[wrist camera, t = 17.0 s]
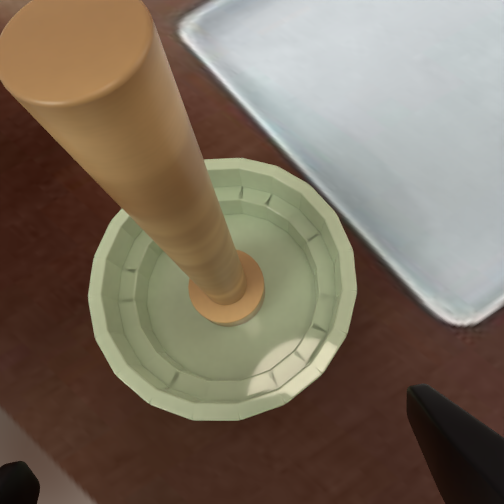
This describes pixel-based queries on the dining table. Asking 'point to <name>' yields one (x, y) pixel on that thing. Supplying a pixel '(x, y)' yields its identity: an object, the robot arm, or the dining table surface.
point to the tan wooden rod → (130, 136)
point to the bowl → (220, 337)
